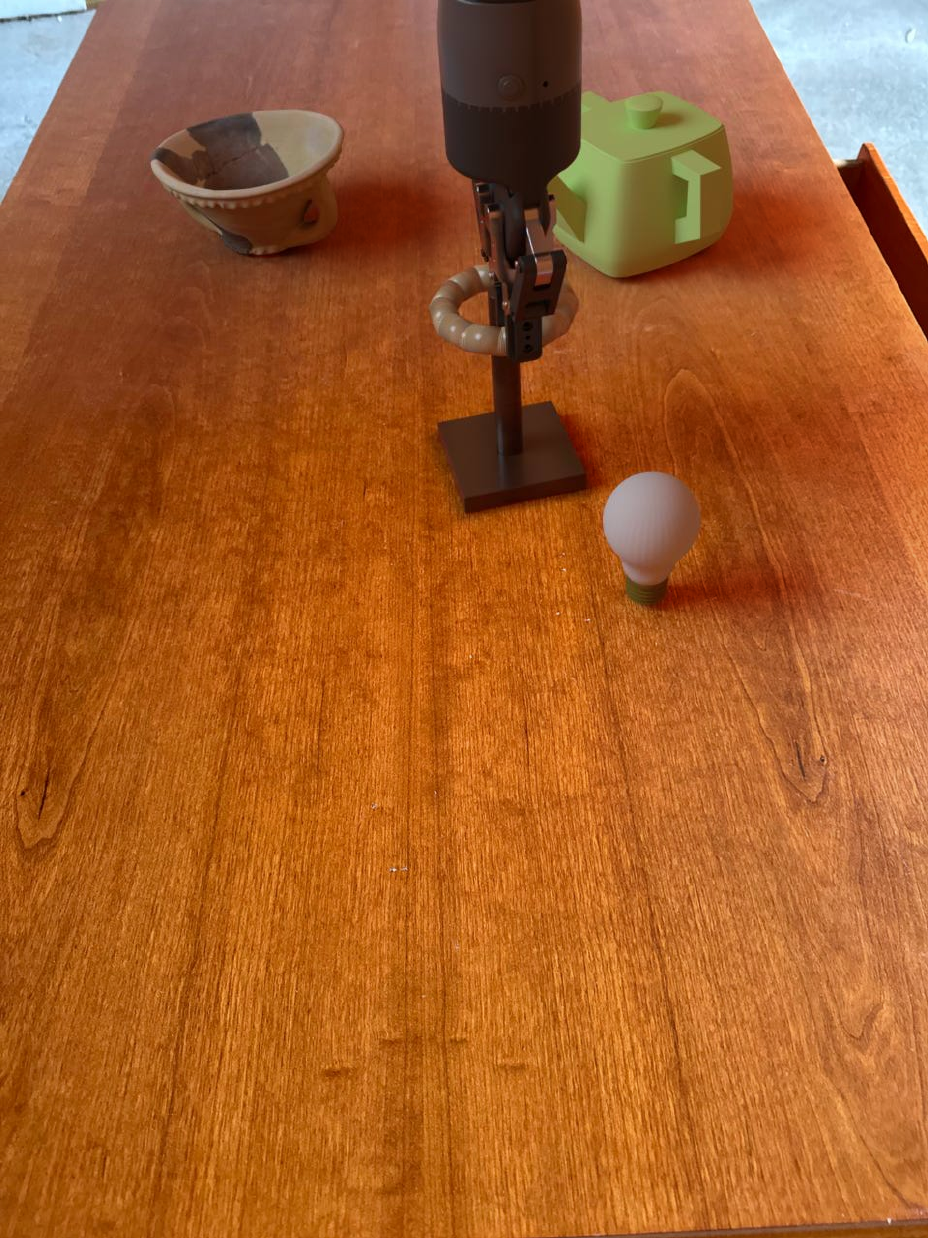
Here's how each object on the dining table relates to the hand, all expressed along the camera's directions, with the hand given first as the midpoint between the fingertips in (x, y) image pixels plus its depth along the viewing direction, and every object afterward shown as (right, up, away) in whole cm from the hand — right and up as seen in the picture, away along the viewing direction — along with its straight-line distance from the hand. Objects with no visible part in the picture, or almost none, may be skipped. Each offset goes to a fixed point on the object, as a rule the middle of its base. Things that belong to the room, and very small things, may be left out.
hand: (519, 346), depth 73 cm
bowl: (-22, +19, +37) cm, 47 cm away
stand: (0, -6, +12) cm, 13 cm away
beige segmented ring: (-1, +3, +2) cm, 4 cm away
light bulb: (+8, -16, +2) cm, 18 cm away
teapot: (+11, +16, +31) cm, 37 cm away
